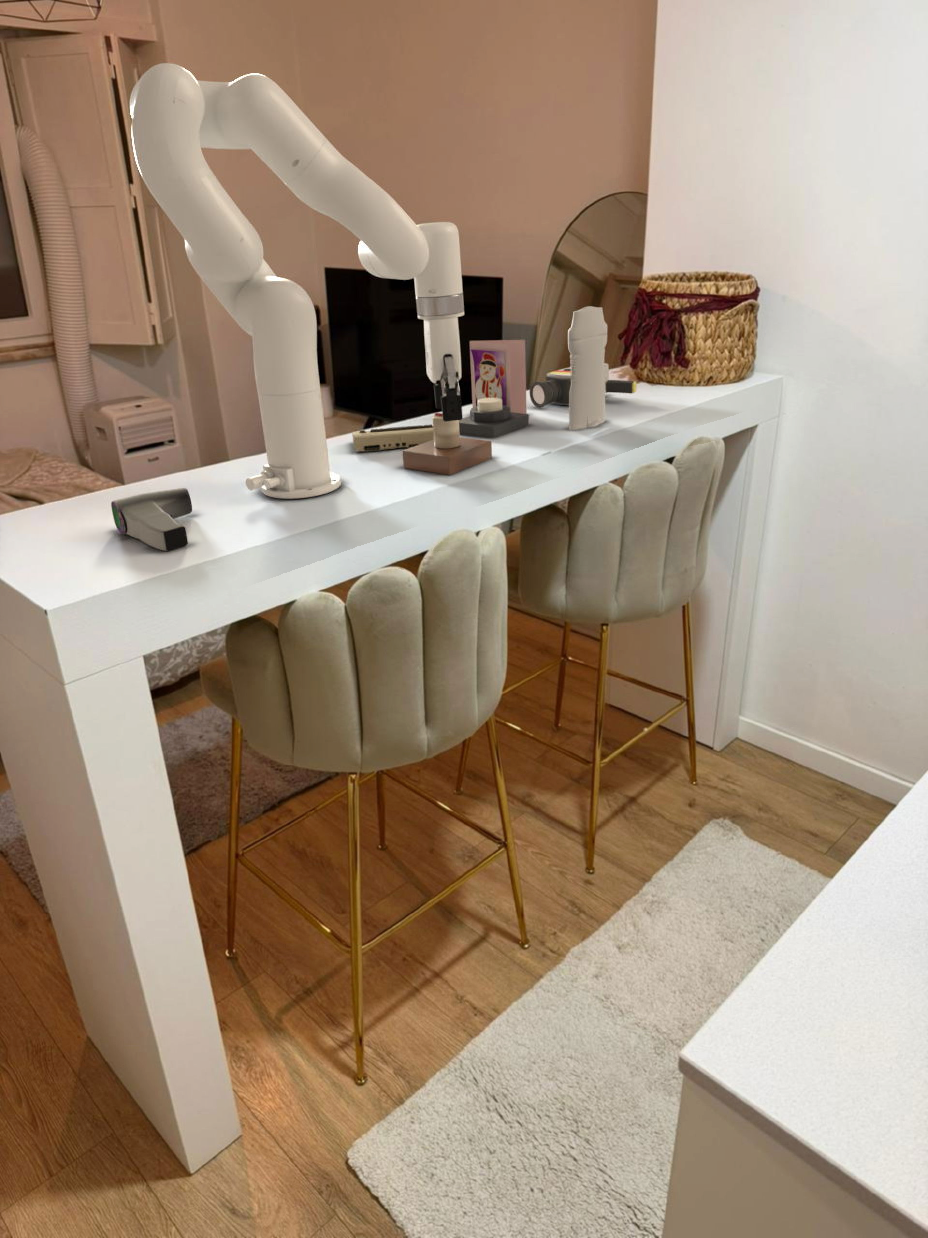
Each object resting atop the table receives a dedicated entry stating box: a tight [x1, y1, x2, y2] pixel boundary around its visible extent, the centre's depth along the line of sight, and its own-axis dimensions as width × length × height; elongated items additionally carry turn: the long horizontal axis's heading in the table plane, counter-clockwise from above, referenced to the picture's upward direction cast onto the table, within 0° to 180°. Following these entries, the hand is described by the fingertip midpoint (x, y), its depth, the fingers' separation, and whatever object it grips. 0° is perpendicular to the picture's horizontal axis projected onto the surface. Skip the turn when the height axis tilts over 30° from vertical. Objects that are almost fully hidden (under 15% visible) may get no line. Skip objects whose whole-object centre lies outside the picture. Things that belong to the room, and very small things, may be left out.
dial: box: [432, 412, 461, 449], centre depth 150 cm, size 4×4×5 cm
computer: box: [351, 424, 434, 452], centre depth 165 cm, size 16×8×3 cm, turn 99°
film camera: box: [529, 362, 637, 409], centre depth 189 cm, size 7×19×15 cm
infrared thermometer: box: [110, 487, 193, 552], centre depth 125 cm, size 5×12×15 cm
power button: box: [477, 398, 502, 412], centre depth 172 cm, size 5×5×2 cm
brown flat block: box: [402, 436, 493, 476], centre depth 151 cm, size 12×10×3 cm
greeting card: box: [469, 339, 528, 414], centre depth 181 cm, size 11×7×15 cm, turn 42°
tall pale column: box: [567, 305, 608, 431], centre depth 168 cm, size 11×4×22 cm, turn 132°
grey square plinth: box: [459, 405, 530, 439], centre depth 173 cm, size 12×10×4 cm
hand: (448, 413), depth 149 cm, fingers open, 9 cm apart
